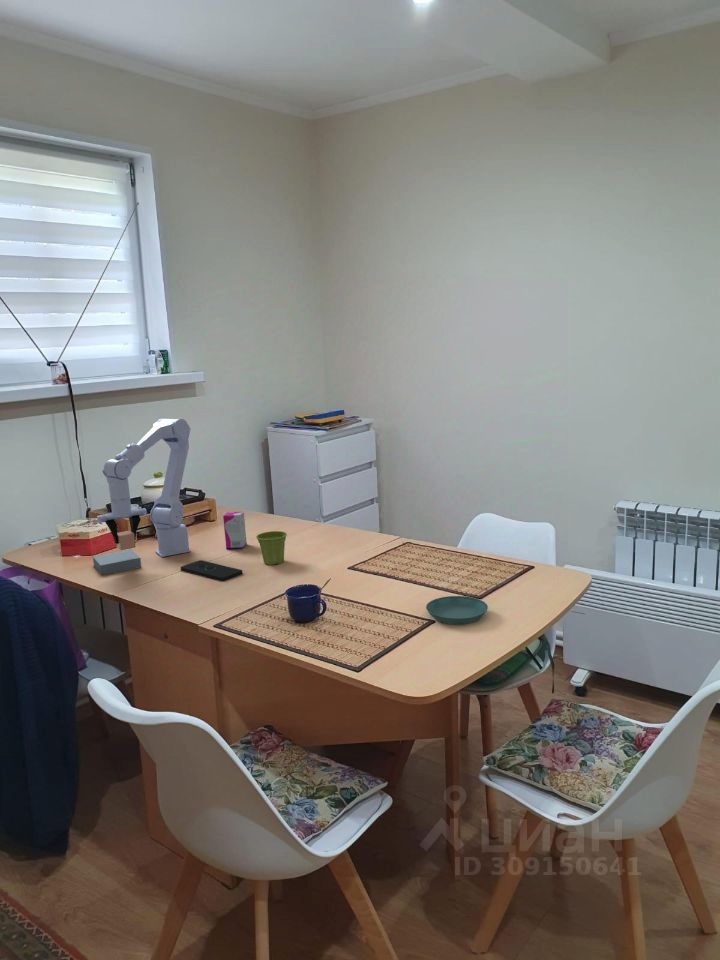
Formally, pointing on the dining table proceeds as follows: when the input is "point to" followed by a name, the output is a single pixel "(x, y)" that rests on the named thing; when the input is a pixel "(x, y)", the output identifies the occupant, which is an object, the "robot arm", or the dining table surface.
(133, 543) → the pale pink cube
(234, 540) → the supplement box
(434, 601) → the saucer
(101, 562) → the base board
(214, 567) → the smart home device
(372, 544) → the dining table surface
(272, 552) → the plant pot
